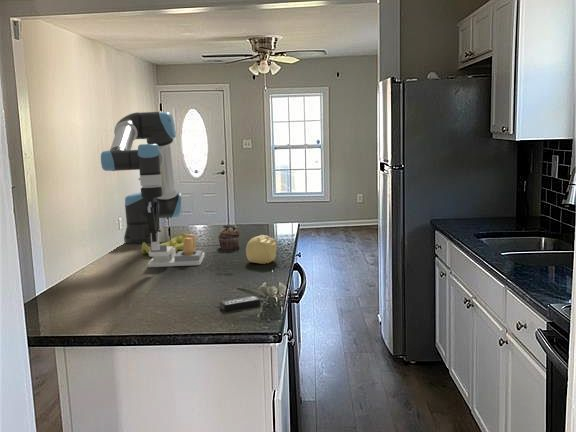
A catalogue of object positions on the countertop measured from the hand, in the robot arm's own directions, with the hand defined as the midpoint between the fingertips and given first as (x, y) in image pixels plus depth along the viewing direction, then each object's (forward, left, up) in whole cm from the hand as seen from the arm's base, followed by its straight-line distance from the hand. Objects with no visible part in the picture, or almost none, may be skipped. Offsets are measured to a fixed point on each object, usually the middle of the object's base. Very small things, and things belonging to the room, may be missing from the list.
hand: (155, 249), depth 207 cm
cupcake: (-39, +24, -8) cm, 46 cm away
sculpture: (-7, +39, -8) cm, 40 cm away
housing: (-15, +5, -8) cm, 18 cm away
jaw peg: (-13, +10, -7) cm, 17 cm away
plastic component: (-33, -2, -9) cm, 34 cm away
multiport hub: (+48, +34, -9) cm, 60 cm away
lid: (-10, 0, -3) cm, 10 cm away
